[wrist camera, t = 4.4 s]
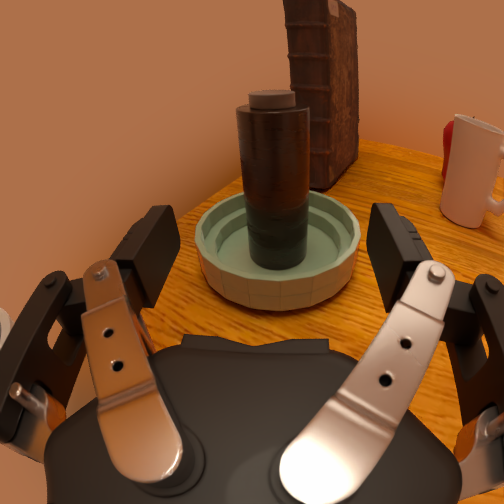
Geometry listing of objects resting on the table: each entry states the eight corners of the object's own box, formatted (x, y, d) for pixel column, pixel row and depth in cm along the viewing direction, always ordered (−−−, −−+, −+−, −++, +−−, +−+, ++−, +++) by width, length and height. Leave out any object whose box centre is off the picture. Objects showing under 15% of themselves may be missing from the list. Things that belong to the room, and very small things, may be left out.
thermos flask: (265, 278, 22) (253, 98, 14) (240, 245, 25) (224, 93, 17) (317, 258, 23) (324, 93, 15) (288, 229, 27) (284, 87, 19)
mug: (427, 206, 30) (444, 112, 23) (453, 198, 32) (469, 115, 24) (489, 251, 23) (521, 147, 15) (508, 236, 24) (535, 147, 17)
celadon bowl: (237, 343, 18) (230, 308, 16) (186, 241, 28) (179, 210, 25) (384, 275, 22) (393, 241, 20) (301, 206, 31) (301, 177, 29)
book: (323, 196, 33) (319, -16, 18) (273, 183, 37) (259, -9, 21) (362, 157, 43) (363, 12, 28) (323, 149, 47) (320, 11, 31)
